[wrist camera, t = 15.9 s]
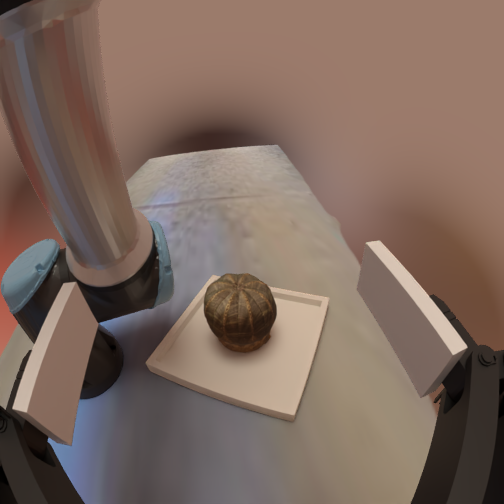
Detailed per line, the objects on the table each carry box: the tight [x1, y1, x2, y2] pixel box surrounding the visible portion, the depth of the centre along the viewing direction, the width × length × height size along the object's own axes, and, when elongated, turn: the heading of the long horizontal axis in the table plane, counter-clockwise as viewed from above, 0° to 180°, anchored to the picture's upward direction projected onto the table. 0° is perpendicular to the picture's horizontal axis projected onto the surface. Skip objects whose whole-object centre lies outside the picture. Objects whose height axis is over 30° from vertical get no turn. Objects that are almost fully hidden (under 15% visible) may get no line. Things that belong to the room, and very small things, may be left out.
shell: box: [203, 273, 277, 353], centre depth 42 cm, size 11×11×12 cm
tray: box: [145, 275, 329, 422], centre depth 45 cm, size 24×24×2 cm
